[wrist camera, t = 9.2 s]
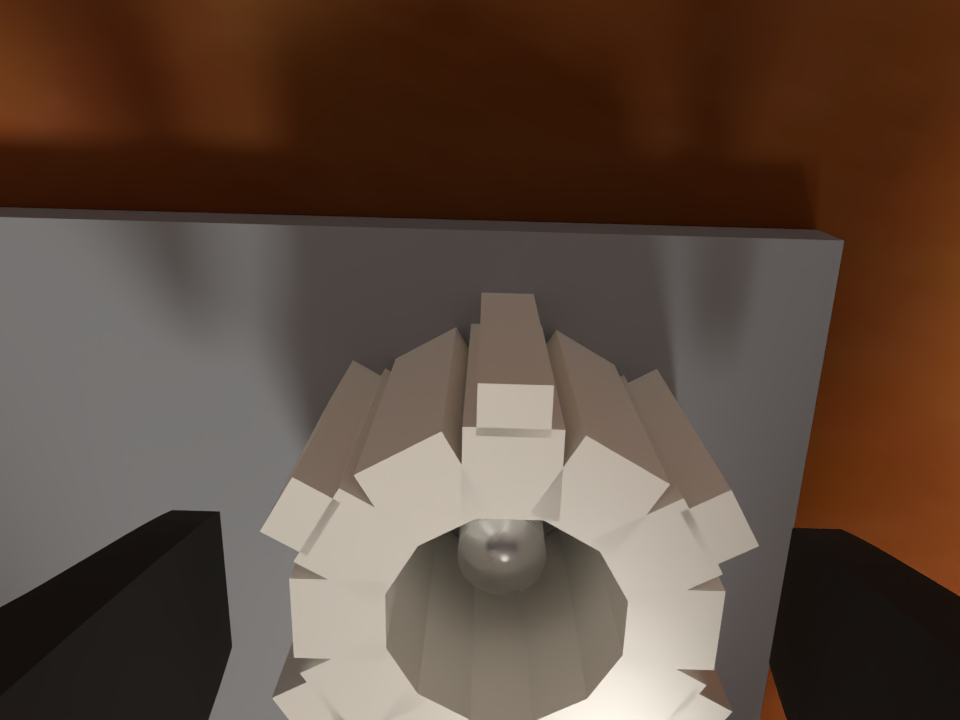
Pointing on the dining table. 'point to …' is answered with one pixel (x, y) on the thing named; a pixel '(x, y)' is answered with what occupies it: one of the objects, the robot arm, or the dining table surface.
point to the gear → (505, 495)
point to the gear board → (376, 344)
